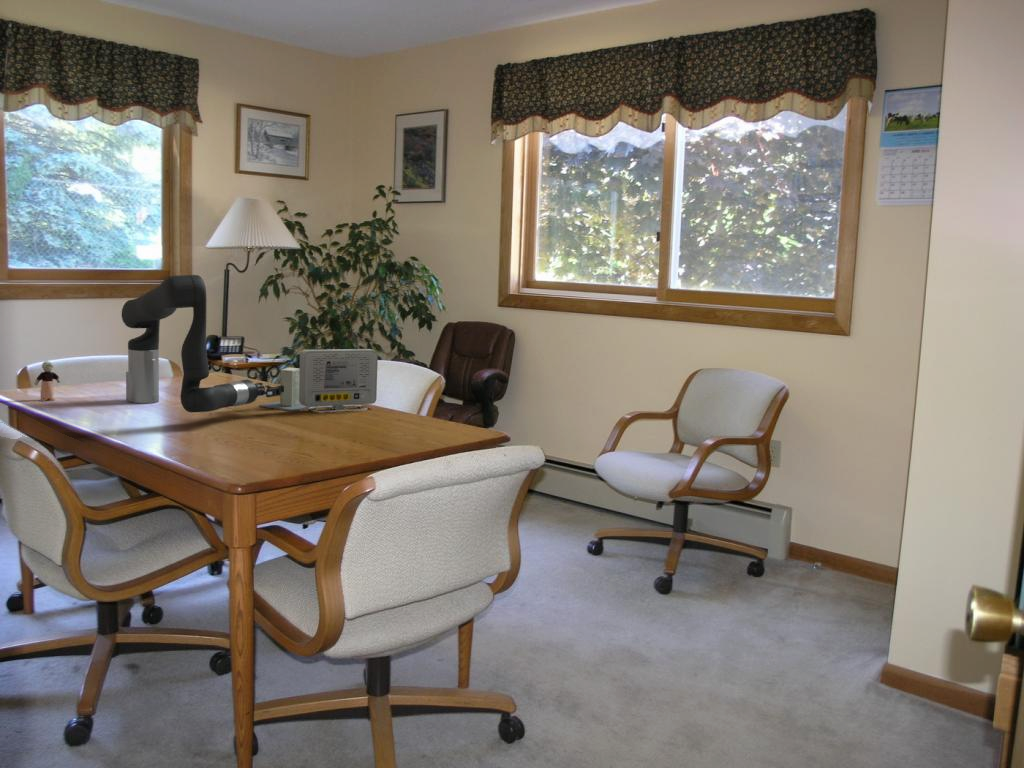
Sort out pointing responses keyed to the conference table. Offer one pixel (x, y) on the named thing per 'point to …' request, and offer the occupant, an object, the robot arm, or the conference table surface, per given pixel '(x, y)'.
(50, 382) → the grandmother figurine
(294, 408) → the slate pad
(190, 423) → the conference table surface
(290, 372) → the skincare box
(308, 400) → the network device
